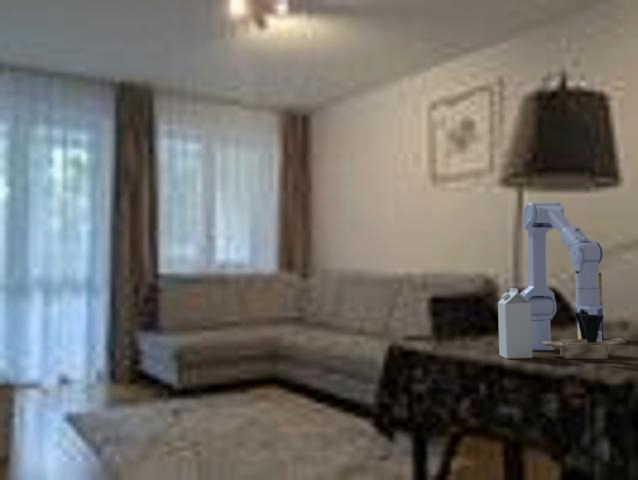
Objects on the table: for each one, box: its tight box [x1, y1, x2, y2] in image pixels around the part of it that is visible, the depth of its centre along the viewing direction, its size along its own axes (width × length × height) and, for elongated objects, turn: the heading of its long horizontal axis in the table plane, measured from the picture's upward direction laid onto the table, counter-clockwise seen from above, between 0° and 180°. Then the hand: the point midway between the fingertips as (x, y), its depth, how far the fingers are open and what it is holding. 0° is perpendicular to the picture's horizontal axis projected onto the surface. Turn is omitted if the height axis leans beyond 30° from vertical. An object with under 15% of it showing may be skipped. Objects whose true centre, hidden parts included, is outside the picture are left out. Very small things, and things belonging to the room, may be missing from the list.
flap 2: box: [603, 337, 627, 346], centre depth 192 cm, size 4×7×1 cm, turn 169°
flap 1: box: [566, 342, 610, 346], centre depth 187 cm, size 10×4×1 cm, turn 79°
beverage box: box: [574, 272, 605, 342], centre depth 233 cm, size 7×11×22 cm, turn 166°
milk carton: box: [497, 287, 533, 360], centre depth 196 cm, size 7×7×19 cm
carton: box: [542, 338, 609, 360], centre depth 196 cm, size 16×13×4 cm
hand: (589, 340), depth 184 cm, fingers open, 7 cm apart
